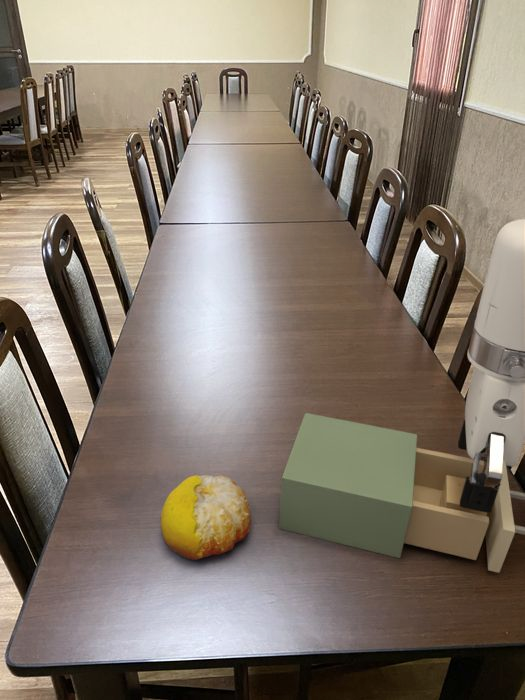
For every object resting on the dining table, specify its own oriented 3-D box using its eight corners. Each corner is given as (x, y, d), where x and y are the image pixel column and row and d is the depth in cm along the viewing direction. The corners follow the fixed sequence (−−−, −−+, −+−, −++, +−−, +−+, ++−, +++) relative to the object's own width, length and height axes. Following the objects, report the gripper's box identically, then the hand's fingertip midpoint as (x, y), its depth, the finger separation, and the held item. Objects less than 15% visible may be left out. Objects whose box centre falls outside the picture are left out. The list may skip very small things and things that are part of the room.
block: (477, 509, 66) (485, 482, 64) (478, 537, 63) (488, 510, 60) (439, 500, 68) (446, 474, 65) (439, 528, 64) (446, 501, 61)
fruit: (232, 581, 59) (210, 528, 56) (156, 567, 64) (132, 517, 60) (270, 507, 68) (253, 458, 64) (201, 500, 73) (182, 453, 69)
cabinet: (406, 483, 73) (417, 434, 68) (400, 558, 62) (412, 506, 58) (301, 460, 76) (305, 412, 72) (278, 528, 66) (281, 477, 61)
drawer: (539, 509, 68) (555, 470, 65) (554, 586, 59) (574, 545, 55) (386, 476, 72) (393, 438, 69) (377, 543, 63) (385, 502, 60)
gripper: (568, 407, 45) (515, 544, 53) (538, 315, 59) (501, 436, 68) (473, 391, 46) (437, 527, 55) (467, 306, 61) (439, 424, 69)
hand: (472, 476), depth 61 cm, fingers open, 9 cm apart
